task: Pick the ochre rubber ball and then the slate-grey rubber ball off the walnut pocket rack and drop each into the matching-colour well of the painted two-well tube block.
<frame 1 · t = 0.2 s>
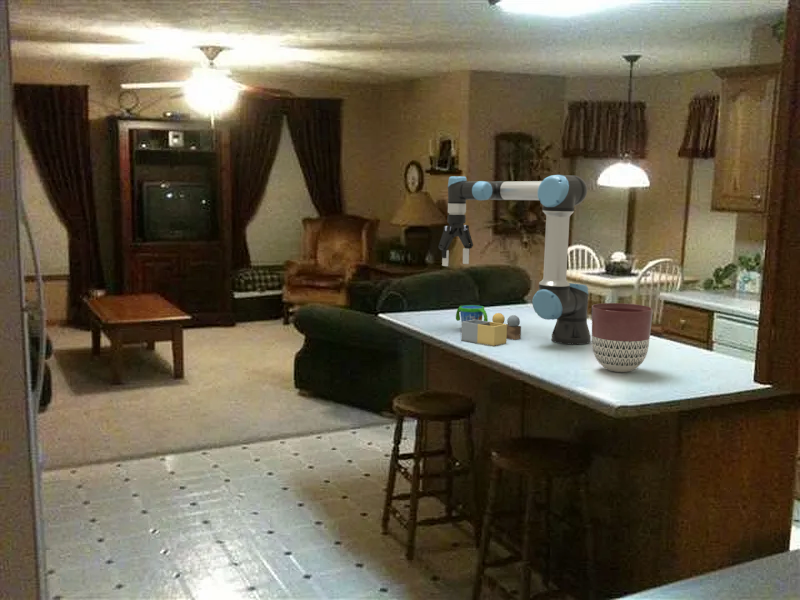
hand: (455, 264, 346), 27 cm above the table, fingers open, 13 cm apart
tube block: (483, 342, 323), on the table
slate ball: (513, 327, 330), point 4 cm above the table, touching rack
ochre ball: (498, 325, 335), point 4 cm above the table, touching rack
snack cup: (471, 331, 348), on the table
rack: (505, 337, 334), on the table
planter: (618, 371, 276), on the table
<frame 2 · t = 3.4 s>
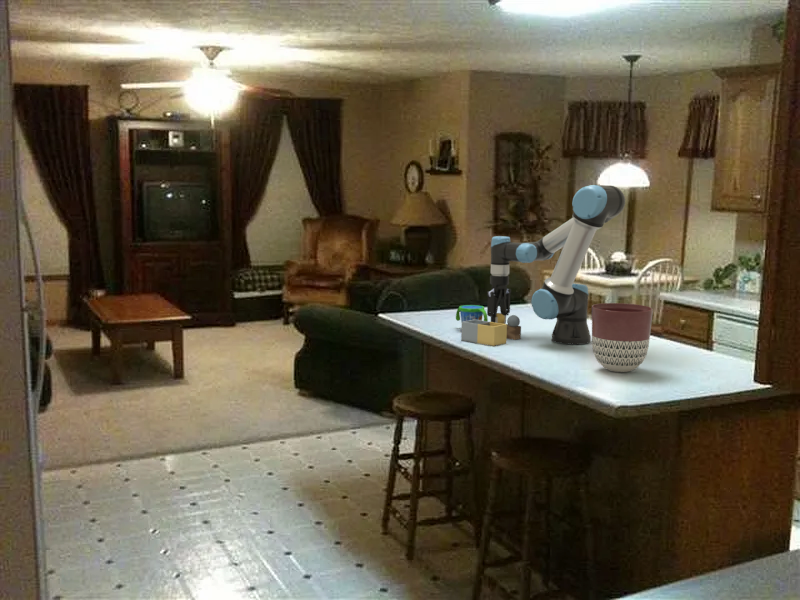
hand: (498, 331, 336), 2 cm above the table, fingers closed on ochre ball, 5 cm apart
ochre ball: (498, 325, 335), point 4 cm above the table, touching gripper, rack
everything else where it was.
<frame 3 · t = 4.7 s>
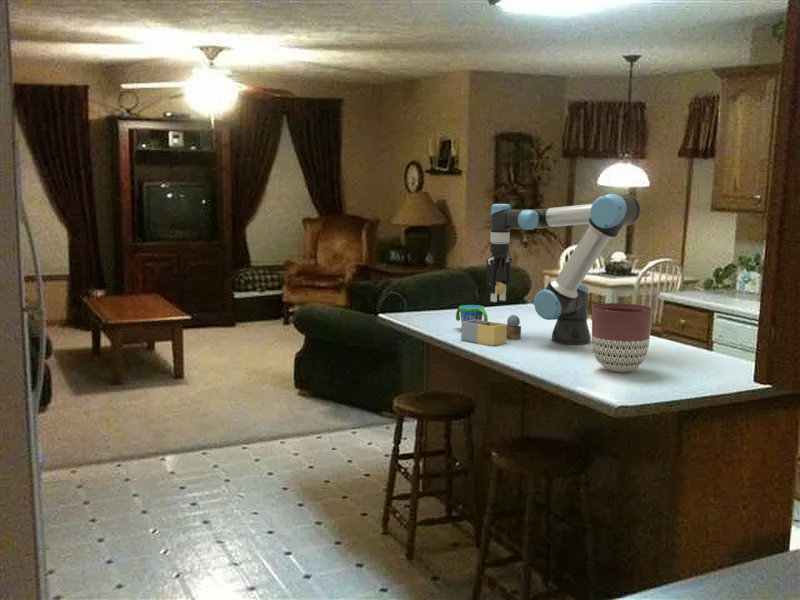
hand: (498, 300, 332), 15 cm above the table, fingers closed on ochre ball, 5 cm apart
ochre ball: (498, 294, 332), point 17 cm above the table, touching gripper
everything else where it was.
when the fingers open (10 cm above the table, at t = 6.4 s): ochre ball drops 12 cm, resting on tube block.
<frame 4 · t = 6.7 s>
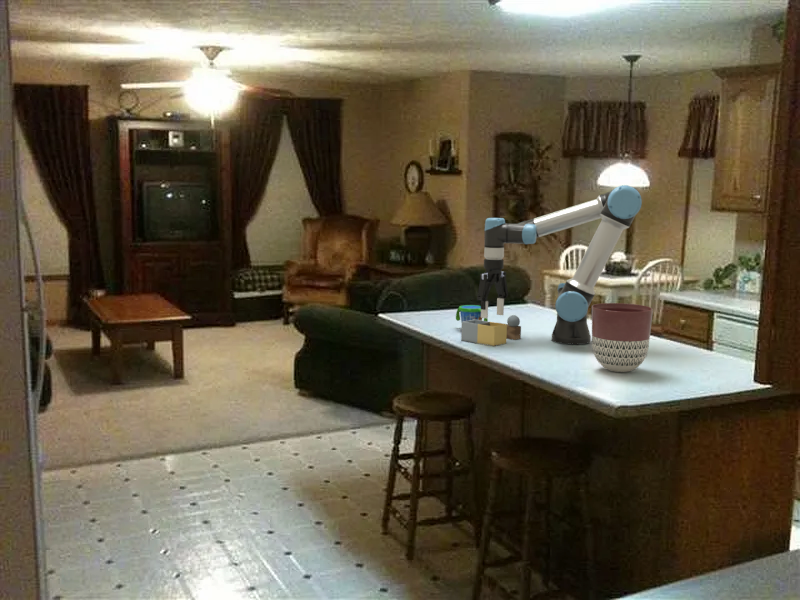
hand: (492, 316, 319), 11 cm above the table, fingers open, 9 cm apart
ochre ball: (491, 342, 320), resting on tube block
everything else where it was.
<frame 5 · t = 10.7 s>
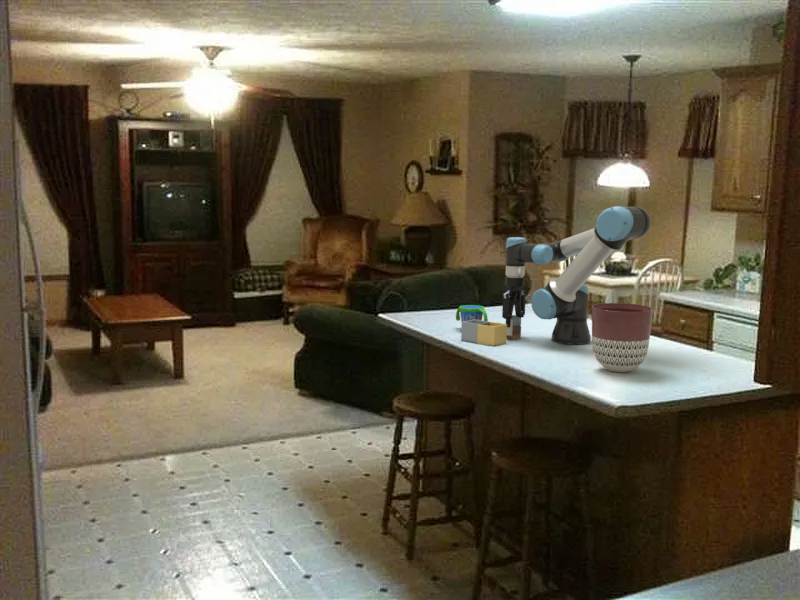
hand: (513, 334, 331), 2 cm above the table, fingers closed on slate ball, 5 cm apart
slate ball: (513, 327, 330), point 4 cm above the table, touching gripper, rack
everything else where it was.
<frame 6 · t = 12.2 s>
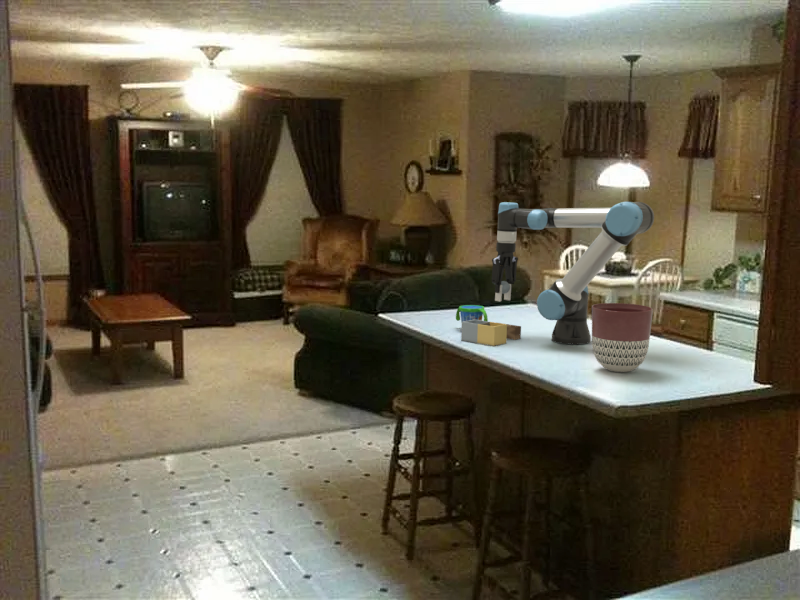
hand: (502, 300, 328), 15 cm above the table, fingers closed on slate ball, 5 cm apart
slate ball: (503, 293, 328), point 18 cm above the table, touching gripper
everything else where it was.
when the fingers open (10 cm above the table, at t = 13.8 s): slate ball drops 12 cm, resting on tube block.
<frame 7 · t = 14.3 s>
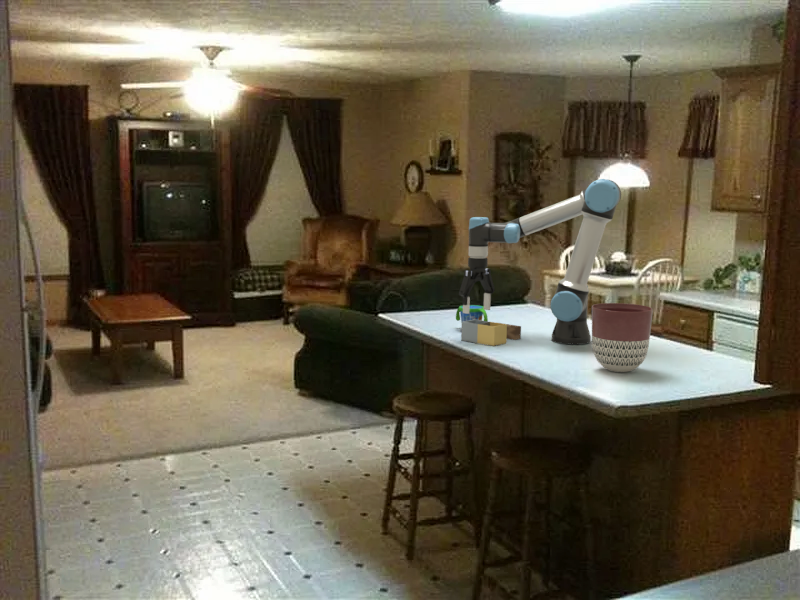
hand: (476, 311, 324), 12 cm above the table, fingers open, 13 cm apart
slate ball: (475, 339, 326), resting on tube block
everything else where it was.
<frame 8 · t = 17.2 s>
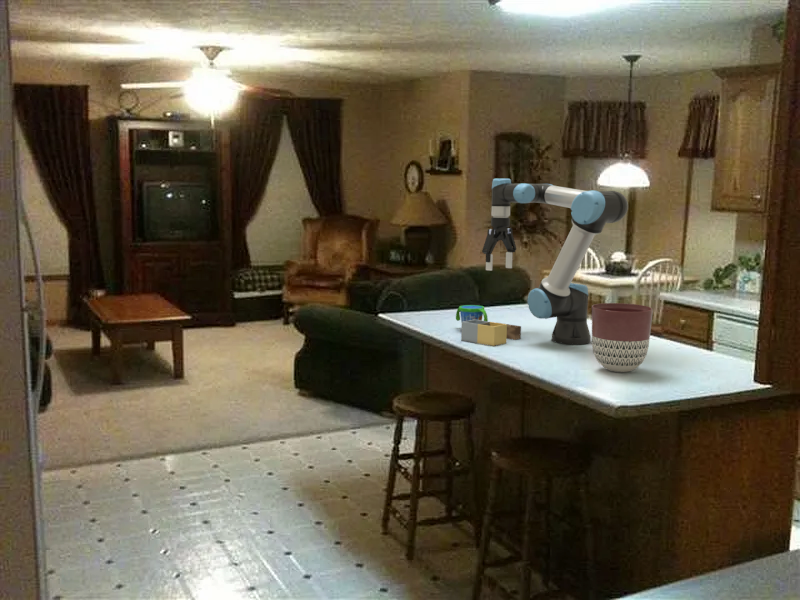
hand: (499, 269, 337), 27 cm above the table, fingers open, 13 cm apart
nothing on the table moved.
at the end: ochre ball inside the target area on the tube block (0.1 cm from its centre), point 0.5 cm above the tube block's base; slate ball inside the target area on the tube block (0.1 cm from its centre), point 0.5 cm above the tube block's base; the gripper is holding nothing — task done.
